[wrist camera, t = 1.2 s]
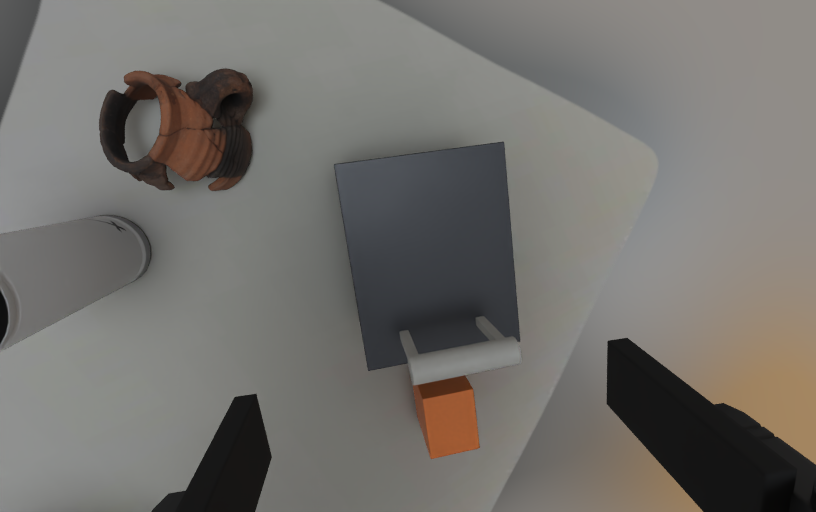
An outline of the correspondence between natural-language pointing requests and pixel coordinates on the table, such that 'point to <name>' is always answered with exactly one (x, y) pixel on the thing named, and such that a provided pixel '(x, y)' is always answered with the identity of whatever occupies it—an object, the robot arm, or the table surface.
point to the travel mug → (64, 270)
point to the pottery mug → (184, 128)
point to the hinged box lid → (433, 260)
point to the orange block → (447, 416)
